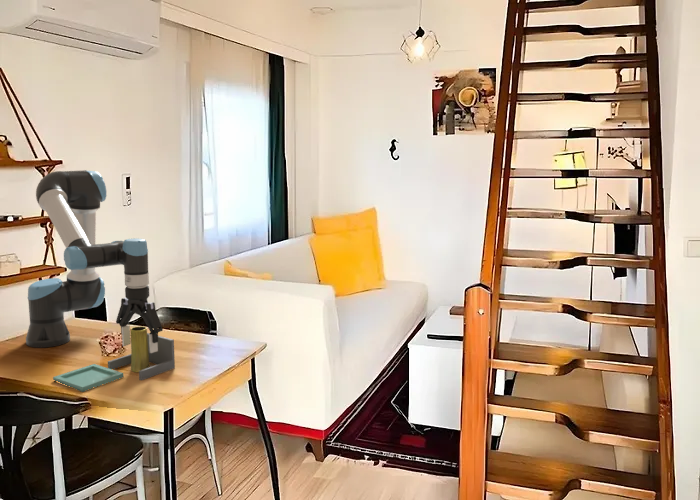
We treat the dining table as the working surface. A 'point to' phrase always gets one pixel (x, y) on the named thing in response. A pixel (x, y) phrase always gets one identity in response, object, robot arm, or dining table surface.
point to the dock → (152, 359)
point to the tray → (88, 377)
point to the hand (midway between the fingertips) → (139, 348)
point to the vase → (139, 349)
